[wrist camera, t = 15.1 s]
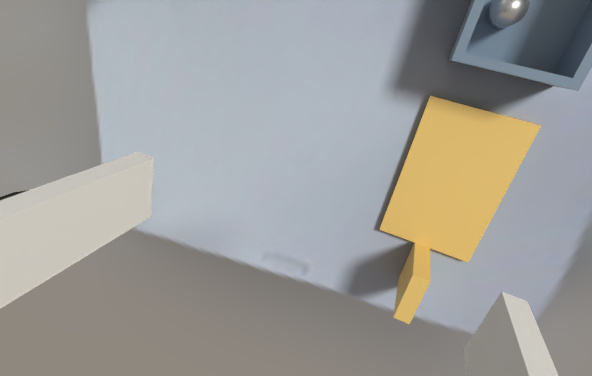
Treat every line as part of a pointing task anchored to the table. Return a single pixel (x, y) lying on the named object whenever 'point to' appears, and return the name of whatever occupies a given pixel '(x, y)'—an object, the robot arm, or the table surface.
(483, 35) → the tub
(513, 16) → the part
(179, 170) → the table surface
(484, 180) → the lid
